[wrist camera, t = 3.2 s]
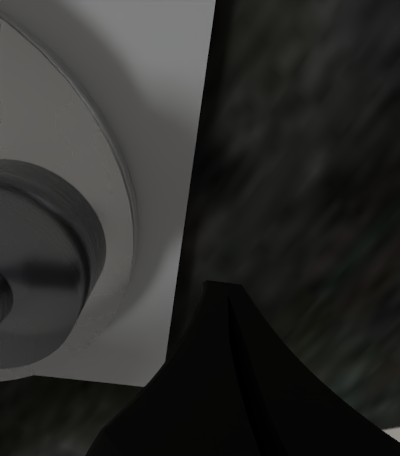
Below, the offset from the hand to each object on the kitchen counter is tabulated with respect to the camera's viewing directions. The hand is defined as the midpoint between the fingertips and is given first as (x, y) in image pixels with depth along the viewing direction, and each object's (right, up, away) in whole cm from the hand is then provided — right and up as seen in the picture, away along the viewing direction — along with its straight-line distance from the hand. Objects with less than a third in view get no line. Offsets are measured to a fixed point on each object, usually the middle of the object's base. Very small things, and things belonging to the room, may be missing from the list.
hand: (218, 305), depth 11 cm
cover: (-8, +2, +2) cm, 9 cm away
